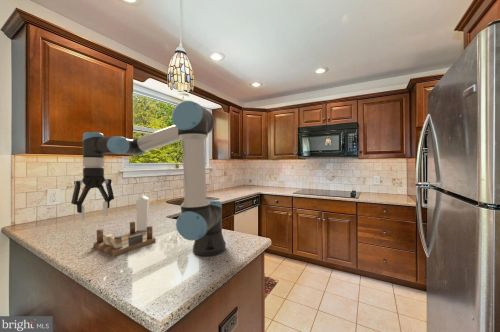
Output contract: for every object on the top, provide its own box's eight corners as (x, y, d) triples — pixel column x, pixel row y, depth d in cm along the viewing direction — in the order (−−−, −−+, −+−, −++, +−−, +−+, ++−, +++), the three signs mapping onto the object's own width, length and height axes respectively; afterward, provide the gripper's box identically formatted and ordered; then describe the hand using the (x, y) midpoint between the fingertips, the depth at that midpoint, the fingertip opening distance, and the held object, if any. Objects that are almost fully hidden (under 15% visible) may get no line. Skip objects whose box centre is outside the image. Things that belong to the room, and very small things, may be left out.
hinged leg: (122, 246, 97) (122, 236, 97) (116, 248, 94) (116, 238, 94) (109, 241, 103) (109, 232, 103) (102, 243, 101) (102, 233, 101)
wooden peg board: (155, 241, 109) (155, 226, 109) (114, 256, 92) (114, 237, 92) (134, 235, 120) (134, 221, 120) (93, 246, 103) (93, 230, 103)
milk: (136, 231, 127) (135, 194, 127) (139, 228, 133) (139, 193, 133) (147, 230, 128) (146, 194, 128) (149, 227, 134) (149, 193, 134)
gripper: (114, 166, 105) (115, 212, 105) (60, 167, 87) (60, 222, 87) (122, 166, 101) (123, 213, 101) (67, 167, 83) (67, 224, 84)
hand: (94, 217), depth 94 cm, fingers open, 8 cm apart
